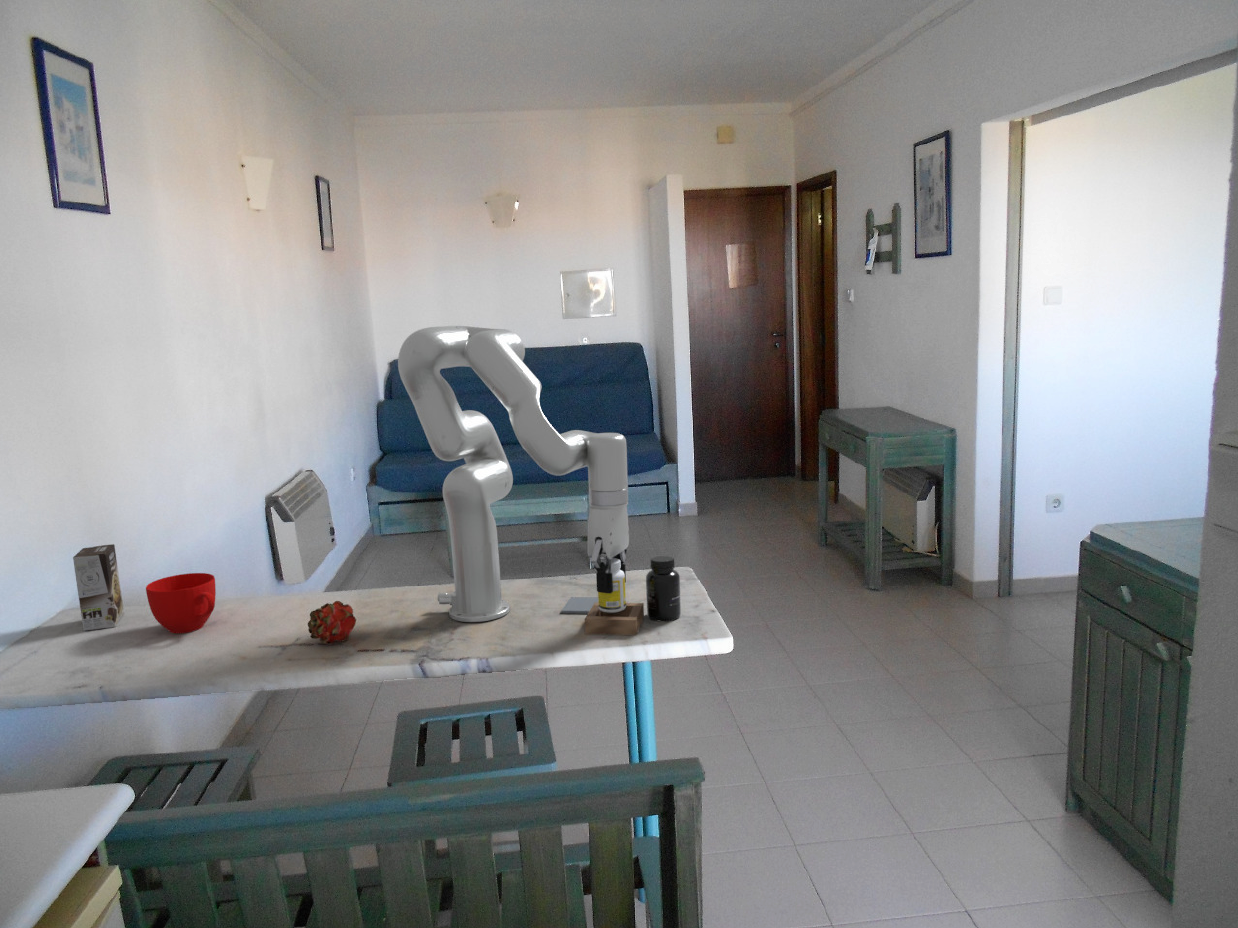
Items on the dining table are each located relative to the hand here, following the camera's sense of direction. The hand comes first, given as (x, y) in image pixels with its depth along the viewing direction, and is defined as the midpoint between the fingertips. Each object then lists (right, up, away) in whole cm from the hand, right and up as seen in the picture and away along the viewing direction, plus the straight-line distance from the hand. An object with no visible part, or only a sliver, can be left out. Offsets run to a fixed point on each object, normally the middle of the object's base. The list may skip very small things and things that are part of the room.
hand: (611, 586), depth 179 cm
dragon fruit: (-54, -11, 0) cm, 55 cm away
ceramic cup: (-87, -10, +10) cm, 88 cm away
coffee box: (-109, -10, +17) cm, 111 cm away
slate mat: (-5, -6, +13) cm, 16 cm away
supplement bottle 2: (+11, -7, +5) cm, 14 cm away
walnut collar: (+1, -8, +1) cm, 8 cm away
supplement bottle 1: (0, -5, +1) cm, 5 cm away
